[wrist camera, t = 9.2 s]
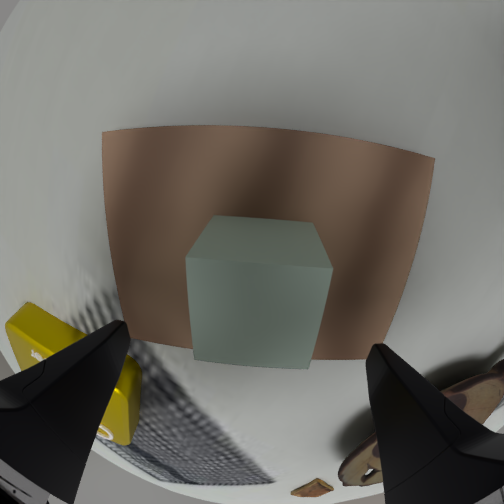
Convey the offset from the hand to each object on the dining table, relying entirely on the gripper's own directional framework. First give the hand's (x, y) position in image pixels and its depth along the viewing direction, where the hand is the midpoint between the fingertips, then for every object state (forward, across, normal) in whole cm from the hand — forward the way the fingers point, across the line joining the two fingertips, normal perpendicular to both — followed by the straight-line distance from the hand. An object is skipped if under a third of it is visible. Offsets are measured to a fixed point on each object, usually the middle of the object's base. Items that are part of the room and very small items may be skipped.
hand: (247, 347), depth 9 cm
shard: (+9, -13, +47) cm, 49 cm away
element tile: (+8, +18, +16) cm, 26 cm away
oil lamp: (+8, -24, +19) cm, 32 cm away
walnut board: (+8, 0, 0) cm, 8 cm away
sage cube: (+6, 0, 0) cm, 6 cm away
